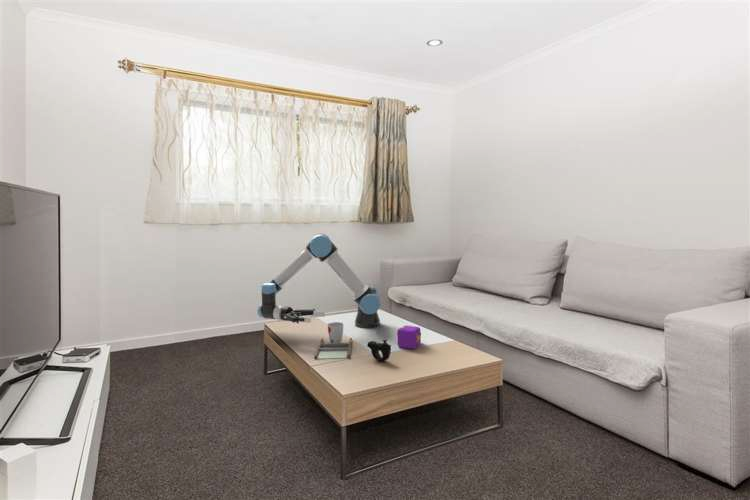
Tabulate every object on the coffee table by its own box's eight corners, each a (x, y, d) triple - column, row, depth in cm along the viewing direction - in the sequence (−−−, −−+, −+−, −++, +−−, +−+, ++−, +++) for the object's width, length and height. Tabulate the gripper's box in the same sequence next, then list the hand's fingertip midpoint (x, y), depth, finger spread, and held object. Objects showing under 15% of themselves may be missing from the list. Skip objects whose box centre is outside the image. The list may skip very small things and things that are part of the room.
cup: (328, 341, 220) (327, 322, 219) (343, 340, 220) (343, 321, 219) (327, 346, 212) (327, 326, 211) (343, 345, 212) (343, 326, 211)
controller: (386, 364, 184) (386, 342, 183) (366, 359, 192) (365, 337, 191) (393, 362, 187) (392, 340, 186) (372, 356, 195) (371, 335, 194)
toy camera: (423, 342, 215) (423, 323, 214) (417, 350, 202) (417, 330, 201) (403, 340, 218) (403, 321, 218) (396, 348, 206) (395, 328, 205)
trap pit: (348, 345, 211) (348, 343, 211) (347, 351, 203) (347, 348, 203) (321, 346, 211) (321, 343, 211) (319, 351, 203) (319, 348, 203)
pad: (347, 351, 203) (347, 350, 203) (346, 358, 193) (346, 357, 193) (319, 351, 203) (319, 351, 203) (316, 358, 193) (316, 358, 193)
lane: (351, 340, 220) (351, 337, 220) (349, 358, 193) (348, 355, 193) (321, 341, 220) (321, 338, 220) (314, 359, 193) (314, 355, 193)
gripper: (296, 315, 238) (329, 318, 229) (269, 325, 215) (304, 330, 207) (296, 302, 237) (329, 305, 229) (269, 311, 214) (304, 315, 206)
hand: (317, 317), depth 218 cm, fingers open, 13 cm apart
